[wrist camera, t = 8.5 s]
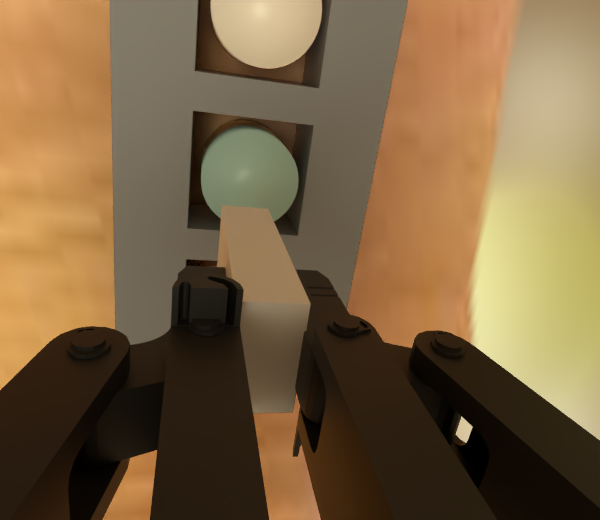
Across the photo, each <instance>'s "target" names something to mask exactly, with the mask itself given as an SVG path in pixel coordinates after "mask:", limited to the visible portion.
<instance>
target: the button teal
mask: <svg viewBox="0 0 600 520" xmlns="http://www.w3.org/2000/svg"><path fill="white" fill-rule="evenodd" d="M298 181H299V179H298V170H297V166H296V163H295V161H294V159H293V157H292V155H291V154H290V152H289V151H288V150H287V148H286V147H285V146H284V145H283V144H282V142H281V141H280V140H279V139H278V138H277V136H276V135H275V134H274V133H273V132H272V131H271V130H270V129H268V128H267V127H265V126H264V125H262V124H260V123H257V122H254V121H249V120H237V121H232V122H229V123H227V124H225V125H223V126H221V127H219V128H218V129H217V130H216V131H215V132H214V133H212V135H211V136H210V137H209V139H208V140H207V142H206V144H205V147H204V149H203V153H202V165H201V187H202V192H203V195H204V198H205V200H206V202H207V204H208V206H209V207H210V209H211V210H212V211H213V212H214V213H215V214H216V215H217V216H218V217H219V218H221V210H222V205H227V206H240V207H253V208H266V209H268V210H269V212H270V214H271V216H272V219H273V221H276V220H277V219H279V218H280V217H281V216H282V215H283V214H285V212H286V211H287V210H288V209H289V208H290V206H291V205H292V203H293V201H294V199H295V196H296V193H297V189H298Z"/></svg>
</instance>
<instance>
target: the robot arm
mask: <svg viewBox="0 0 600 520" xmlns="http://www.w3.org/2000/svg"><path fill="white" fill-rule="evenodd" d="M296 393H297V396H298V400H299V403H300V411H299V417H298V423H297V428H296V434H295V440H294V446H293V457H296V456H298V454H299V448H300V446H301V445H302V447H303V451H304V455H305V459H306V463H307V467H308V471H309V475H310V478H311V482H312V486H313V490H314V494H315V498H316V502H317V506H318V510H319V513H320V517H321V520H600V440H598V439H597V438H596V437H594V436H593V435H592V434H590V433H589V432H587V431H586V430H585V429H583V428H582V427H581V426H580V425H578V424H577V423H576V422H574V421H573V420H572V419H570V418H569V417H567V416H566V415H565V414H564V413H562V412H561V411H560V410H558V409H557V408H556V407H554V406H553V405H552V404H550V403H549V402H548V401H546V400H545V399H544V398H542V397H541V396H539V395H538V394H537V393H536V392H534V391H533V390H532V389H530V388H529V387H528V386H526V385H525V384H524V383H522V382H521V381H520V380H518V379H517V378H516V377H514V376H513V375H512V374H510V373H509V372H508V371H506V370H505V369H504V368H502V367H501V366H500V365H498V364H497V363H496V362H494V361H493V360H492V359H490V358H489V357H488V356H486V355H485V354H484V353H483V352H481V351H480V350H479V349H477V348H476V347H475V346H473V345H472V344H470V343H469V342H467V341H465V340H464V339H462V338H460V337H457V336H455V335H453V334H452V333H449V332H443V331H425V332H422V333H419V334H418V335H417V336H416V337H415V340H414V343H413V347H412V348H408V347H403V346H398V345H393V344H389V343H385V342H383V340H382V339H381V337H380V336H379V334H378V333H377V331H376V329H375V328H374V327H373V326H372V325H371V324H370V323H369V322H367V321H365V320H363V319H361V318H359V317H356V316H353V315H350V314H349V313H348V311H347V309H346V308H345V306H344V304H343V302H342V301H341V299H340V297H338V294H337V292H336V290H335V289H334V287H333V285H332V284H331V282H330V280H329V279H328V278H327V277H326V276H324V275H323V274H321V273H320V272H319V271H317V270H299V269H295V268H294V266H293V263H292V261H291V259H290V257H289V254H288V252H287V250H286V248H285V245H284V243H283V241H282V239H281V236H280V234H279V232H278V230H277V228H276V225H275V223H274V221H273V219H272V216H271V214H270V212H269V210H268V209H266V208H253V207H240V206H227V205H222V210H221V223H220V236H219V249H218V262H217V267H207V266H186V267H185V268H184V269H183V270H181V271H180V272H179V273H178V278H177V281H175V283H174V285H173V286H172V307H171V328H170V329H169V330H168V332H167V333H165V334H164V335H162V336H161V337H159V338H156V339H154V340H151V341H148V342H143V343H139V344H133V345H130V342H129V340H128V338H127V336H126V335H124V334H123V333H121V332H120V331H118V330H114V329H110V328H107V327H95V326H91V327H85V328H84V327H82V328H77V329H74V330H71V331H68V332H65V333H63V334H60V335H59V336H57V337H56V338H54V339H53V340H52V341H50V342H49V343H48V344H47V345H46V346H45V347H44V348H43V349H42V350H41V351H40V352H39V353H38V354H37V355H36V356H35V357H34V358H33V359H32V360H31V361H30V362H29V363H28V364H27V365H26V366H25V367H24V368H23V369H22V370H21V371H20V372H19V373H18V374H17V375H15V376H14V377H13V378H12V379H11V380H10V381H9V382H8V383H7V384H6V385H5V386H4V387H3V388H2V389H1V390H0V520H102V519H103V517H104V515H105V513H106V511H107V509H108V507H109V505H110V503H111V501H112V499H113V497H114V495H115V493H116V491H117V489H118V487H119V485H120V483H121V480H122V478H123V476H124V474H125V472H126V470H127V468H128V464H129V460H130V458H131V457H134V456H138V455H141V454H144V453H148V452H151V451H154V450H157V459H156V468H155V478H154V487H153V496H152V506H151V515H150V520H269V516H268V509H267V502H266V496H265V489H264V483H263V476H262V469H261V463H260V456H259V450H258V443H257V436H256V430H255V423H254V416H253V413H287V412H293V409H294V403H295V397H296ZM461 416H462V417H463V418H464V419H465V420H466V421H467V422H468V423H470V424H471V425H472V426H473V428H472V431H471V434H470V436H469V439H468V441H467V443H465V442H463V441H462V440H460V439H459V438H458V437H457V436H456V435H455V434H456V431H457V428H458V425H459V422H460V419H461Z"/></svg>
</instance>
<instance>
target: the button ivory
mask: <svg viewBox="0 0 600 520" xmlns="http://www.w3.org/2000/svg"><path fill="white" fill-rule="evenodd" d="M321 16H322V0H211V4H210V17H211V23H212V27H213V30H214V33H215V36H216V38H217V40H218V41H219V43H220V44H221V46H222V47H223V48H224V50H225V51H226V52H227V53H228V54H229V55H231V56H232V57H233V58H235V59H236V60H238V61H240V62H242V63H245V64H247V65H251V66H255V67H259V68H267V69H271V68H279V67H283V66H286V65H288V64H290V63H292V62H294V61H296V60H297V59H298V58H300V57H301V56H302V55H303V54H304V53H305V52H306V51H307V50H308V49H309V47H310V46H311V44H312V43H313V41H314V39H315V37H316V35H317V33H318V30H319V27H320V22H321Z"/></svg>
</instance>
